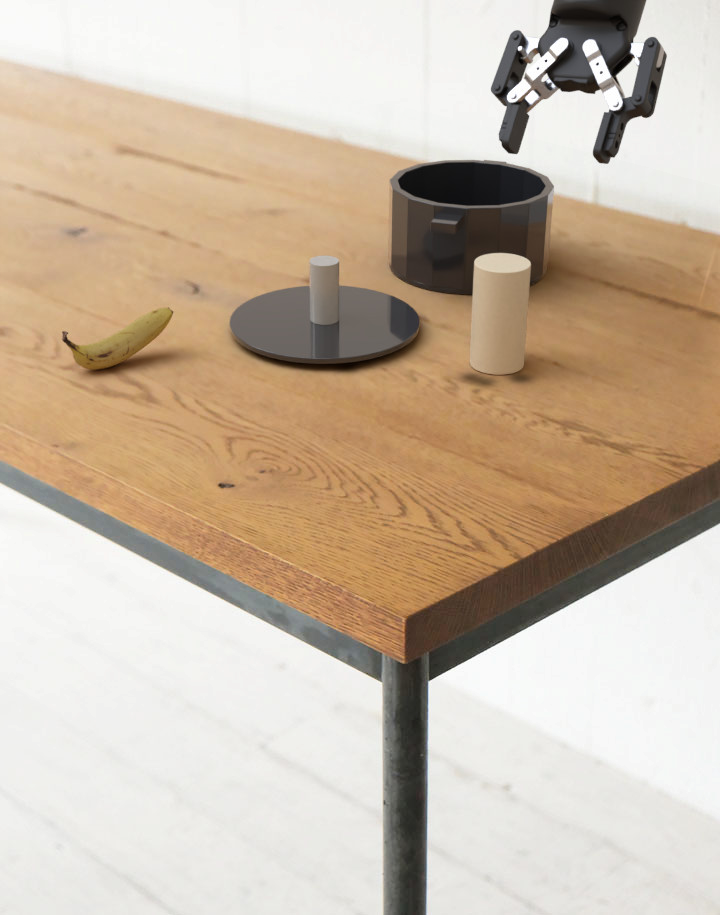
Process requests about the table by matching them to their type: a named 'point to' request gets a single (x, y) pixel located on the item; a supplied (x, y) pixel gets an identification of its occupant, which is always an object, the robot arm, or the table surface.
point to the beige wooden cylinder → (499, 313)
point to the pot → (466, 220)
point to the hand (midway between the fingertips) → (553, 155)
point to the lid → (324, 320)
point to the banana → (121, 341)
